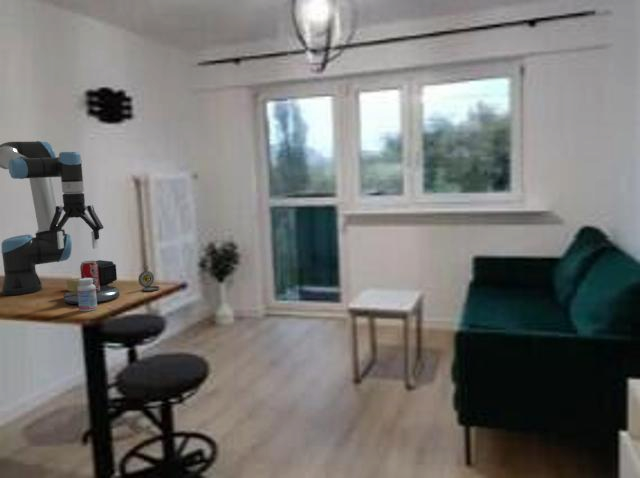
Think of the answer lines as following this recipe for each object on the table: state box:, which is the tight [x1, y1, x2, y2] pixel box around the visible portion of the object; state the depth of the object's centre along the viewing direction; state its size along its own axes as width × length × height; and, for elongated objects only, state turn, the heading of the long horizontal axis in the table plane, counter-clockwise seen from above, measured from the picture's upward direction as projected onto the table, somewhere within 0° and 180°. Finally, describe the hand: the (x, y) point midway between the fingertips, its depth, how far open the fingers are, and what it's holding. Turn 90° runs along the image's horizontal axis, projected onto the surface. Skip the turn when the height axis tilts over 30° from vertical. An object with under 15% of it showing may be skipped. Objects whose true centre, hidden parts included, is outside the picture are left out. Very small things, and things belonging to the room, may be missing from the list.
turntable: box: [63, 279, 120, 305], centre depth 216 cm, size 23×20×6 cm
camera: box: [95, 259, 118, 287], centre depth 239 cm, size 11×11×15 cm
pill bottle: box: [77, 278, 98, 313], centre depth 199 cm, size 6×6×11 cm
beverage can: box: [79, 260, 100, 292], centre depth 215 cm, size 6×6×12 cm
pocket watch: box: [138, 264, 160, 292], centre depth 229 cm, size 8×8×10 cm
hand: (78, 248), depth 215 cm, fingers open, 13 cm apart
